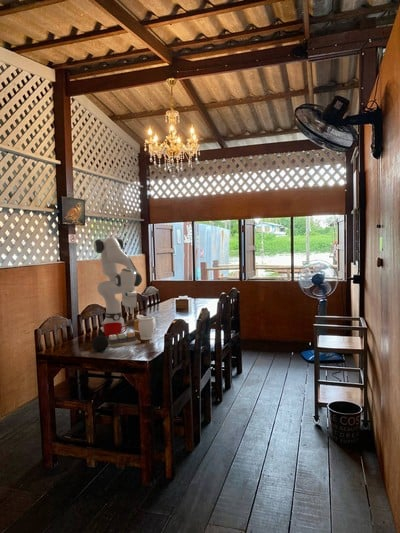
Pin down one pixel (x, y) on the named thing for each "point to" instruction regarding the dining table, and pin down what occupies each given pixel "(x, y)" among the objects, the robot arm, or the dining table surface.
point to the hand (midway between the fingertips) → (129, 313)
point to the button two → (121, 335)
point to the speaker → (100, 343)
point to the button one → (112, 337)
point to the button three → (130, 334)
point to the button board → (122, 342)
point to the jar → (146, 327)
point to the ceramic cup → (113, 329)
